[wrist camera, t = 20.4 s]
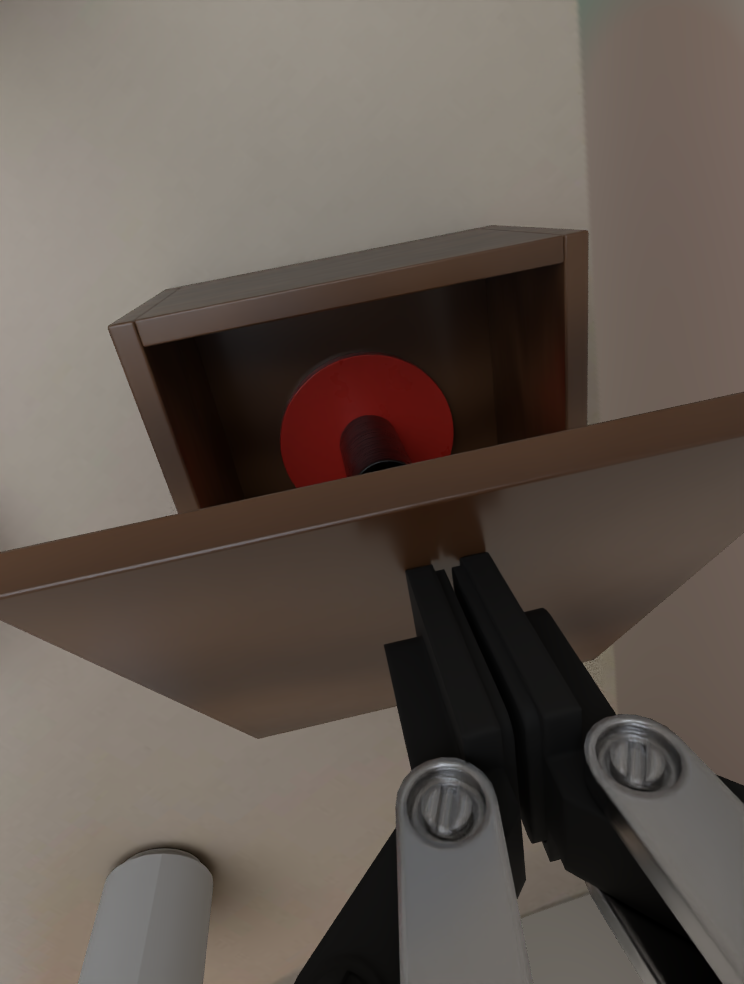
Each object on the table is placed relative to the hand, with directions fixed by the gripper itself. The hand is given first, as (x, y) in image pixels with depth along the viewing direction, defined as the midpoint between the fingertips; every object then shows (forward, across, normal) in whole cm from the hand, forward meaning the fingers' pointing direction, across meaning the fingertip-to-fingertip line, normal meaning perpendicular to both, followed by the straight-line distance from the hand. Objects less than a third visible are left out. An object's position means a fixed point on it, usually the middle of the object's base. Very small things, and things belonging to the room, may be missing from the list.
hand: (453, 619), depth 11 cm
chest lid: (+4, 0, +3) cm, 5 cm away
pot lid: (+17, 0, +3) cm, 17 cm away
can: (+18, +21, +33) cm, 43 cm away
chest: (+18, 0, +3) cm, 18 cm away
